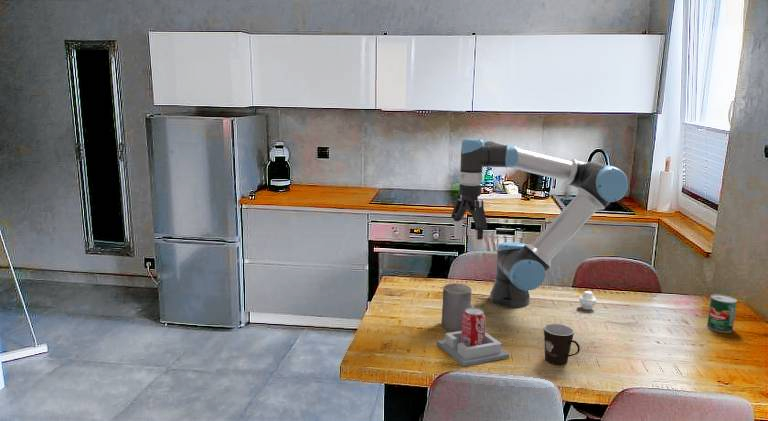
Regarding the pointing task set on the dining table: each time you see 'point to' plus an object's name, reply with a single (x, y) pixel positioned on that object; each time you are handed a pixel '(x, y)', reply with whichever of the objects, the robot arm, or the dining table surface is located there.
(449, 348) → the pocket board
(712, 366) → the dining table surface
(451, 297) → the pillar candle
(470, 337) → the soda can
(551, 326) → the coffee mug
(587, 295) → the white lidded jar
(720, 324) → the canned tomato
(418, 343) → the dining table surface
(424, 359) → the dining table surface
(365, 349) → the dining table surface
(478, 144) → the robot arm
